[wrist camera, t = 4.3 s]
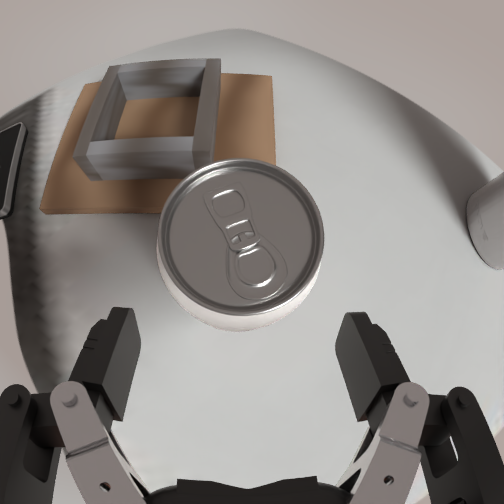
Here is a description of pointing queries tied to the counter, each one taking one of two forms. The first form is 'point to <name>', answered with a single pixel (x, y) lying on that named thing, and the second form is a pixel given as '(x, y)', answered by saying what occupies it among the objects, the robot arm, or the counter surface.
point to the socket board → (156, 134)
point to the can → (239, 244)
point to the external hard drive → (10, 165)
